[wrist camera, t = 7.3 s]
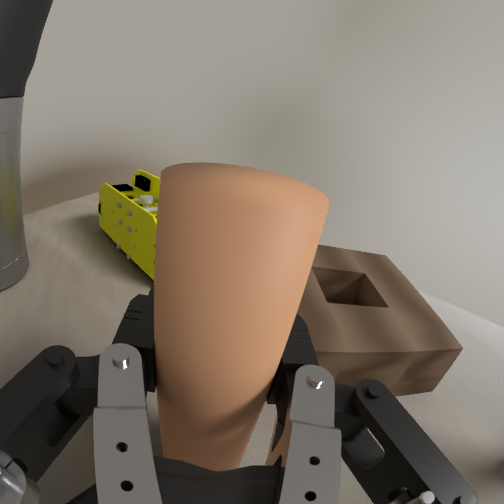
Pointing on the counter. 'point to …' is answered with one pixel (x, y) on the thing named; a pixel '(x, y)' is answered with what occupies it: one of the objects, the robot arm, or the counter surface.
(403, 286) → the socket block
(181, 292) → the pin
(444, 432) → the counter surface
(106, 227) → the yellow toy chassis
